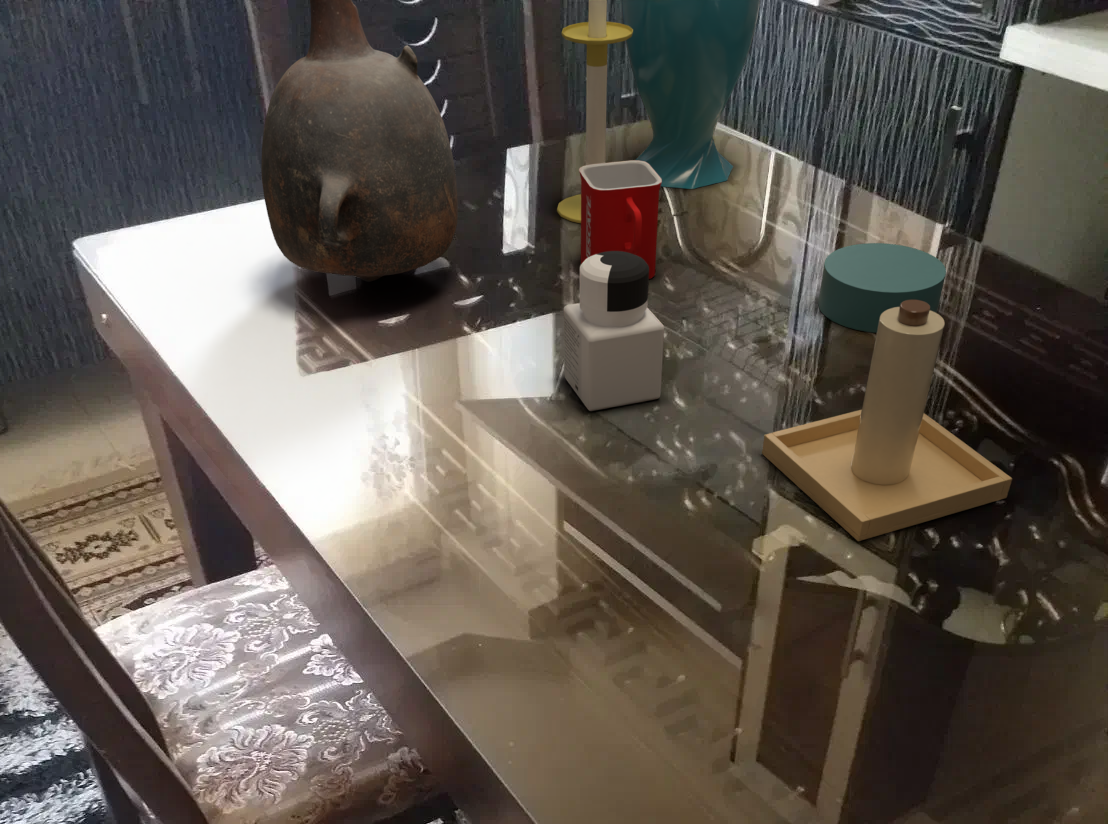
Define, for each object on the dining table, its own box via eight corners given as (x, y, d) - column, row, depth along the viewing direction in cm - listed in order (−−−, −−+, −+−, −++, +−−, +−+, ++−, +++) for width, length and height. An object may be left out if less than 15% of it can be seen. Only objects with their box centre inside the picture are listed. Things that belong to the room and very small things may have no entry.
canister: (886, 449, 106) (922, 287, 96) (921, 477, 103) (961, 312, 92) (839, 462, 105) (869, 299, 94) (872, 490, 102) (908, 324, 91)
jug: (490, 306, 130) (473, -2, 109) (303, 339, 125) (248, 22, 104) (430, 228, 146) (406, -54, 125) (263, 254, 142) (208, -34, 120)
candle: (648, 207, 150) (664, -154, 124) (600, 230, 145) (607, -141, 118) (589, 189, 155) (592, -162, 128) (541, 212, 150) (534, -150, 123)
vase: (662, 201, 152) (677, -75, 130) (595, 162, 162) (599, -98, 141) (768, 176, 157) (798, -92, 136) (696, 140, 168) (714, -113, 147)
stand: (890, 274, 134) (898, 235, 131) (961, 318, 126) (971, 278, 123) (795, 295, 131) (801, 255, 128) (861, 342, 122) (869, 301, 119)
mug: (575, 259, 139) (575, 165, 131) (641, 252, 140) (645, 159, 133) (600, 301, 131) (602, 203, 123) (670, 293, 132) (675, 196, 124)
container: (633, 365, 120) (637, 238, 110) (661, 399, 115) (669, 269, 105) (563, 377, 118) (562, 250, 109) (588, 413, 113) (589, 282, 104)
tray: (900, 417, 111) (904, 398, 110) (1006, 498, 101) (1012, 478, 100) (761, 453, 107) (764, 434, 106) (858, 541, 97) (862, 521, 96)
